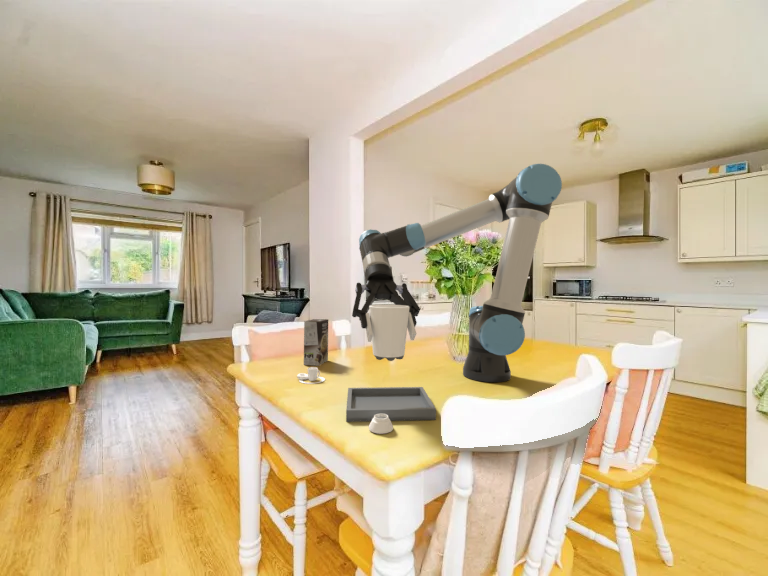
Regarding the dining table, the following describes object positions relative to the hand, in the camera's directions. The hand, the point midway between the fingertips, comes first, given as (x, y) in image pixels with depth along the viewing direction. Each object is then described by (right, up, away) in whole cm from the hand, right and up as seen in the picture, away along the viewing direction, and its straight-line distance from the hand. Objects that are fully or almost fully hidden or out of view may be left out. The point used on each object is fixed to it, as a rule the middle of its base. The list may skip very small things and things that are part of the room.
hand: (392, 337), depth 81 cm
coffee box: (-27, -17, +48) cm, 58 cm away
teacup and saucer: (-25, -17, +29) cm, 42 cm away
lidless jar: (-3, -18, -9) cm, 21 cm away
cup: (-1, -6, +3) cm, 6 cm away
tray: (-1, -18, +3) cm, 18 cm away
